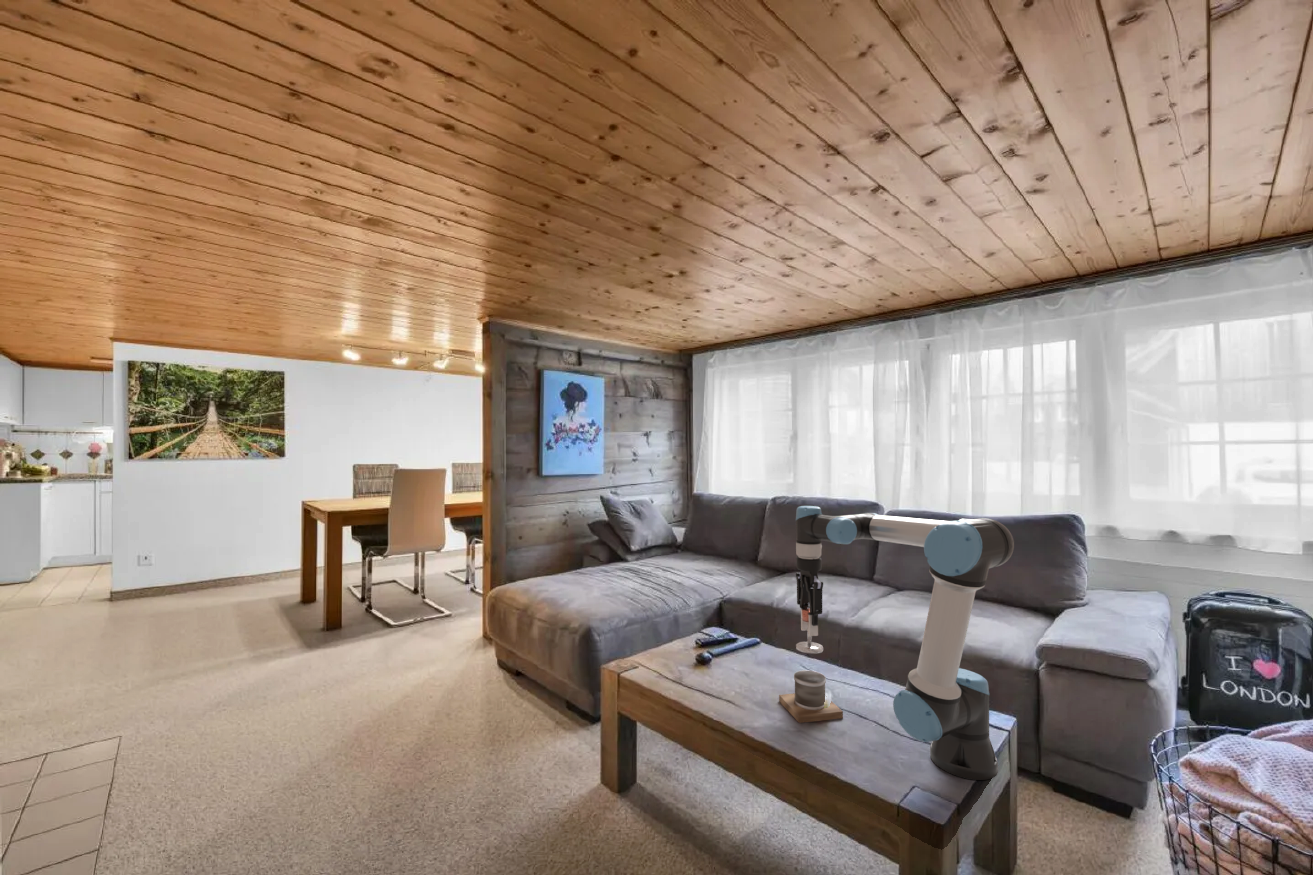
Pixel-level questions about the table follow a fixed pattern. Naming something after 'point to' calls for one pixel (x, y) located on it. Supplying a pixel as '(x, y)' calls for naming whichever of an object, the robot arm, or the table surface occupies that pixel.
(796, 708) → the stand
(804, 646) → the plunger
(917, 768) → the table surface
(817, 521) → the robot arm
